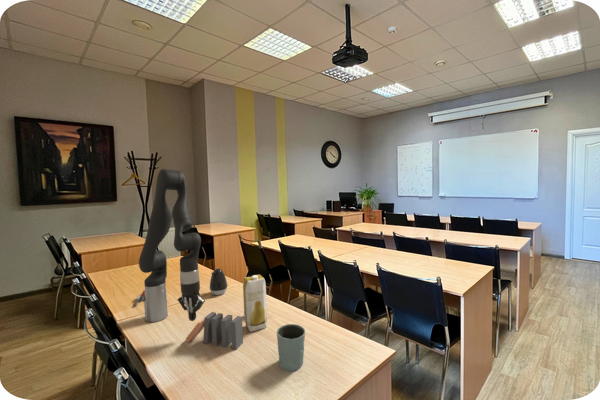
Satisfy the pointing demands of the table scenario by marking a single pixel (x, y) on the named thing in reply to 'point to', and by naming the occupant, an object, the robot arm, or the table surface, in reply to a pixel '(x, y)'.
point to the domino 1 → (195, 331)
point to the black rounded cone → (218, 282)
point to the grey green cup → (291, 346)
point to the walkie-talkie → (140, 298)
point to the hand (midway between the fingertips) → (192, 320)
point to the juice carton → (255, 302)
